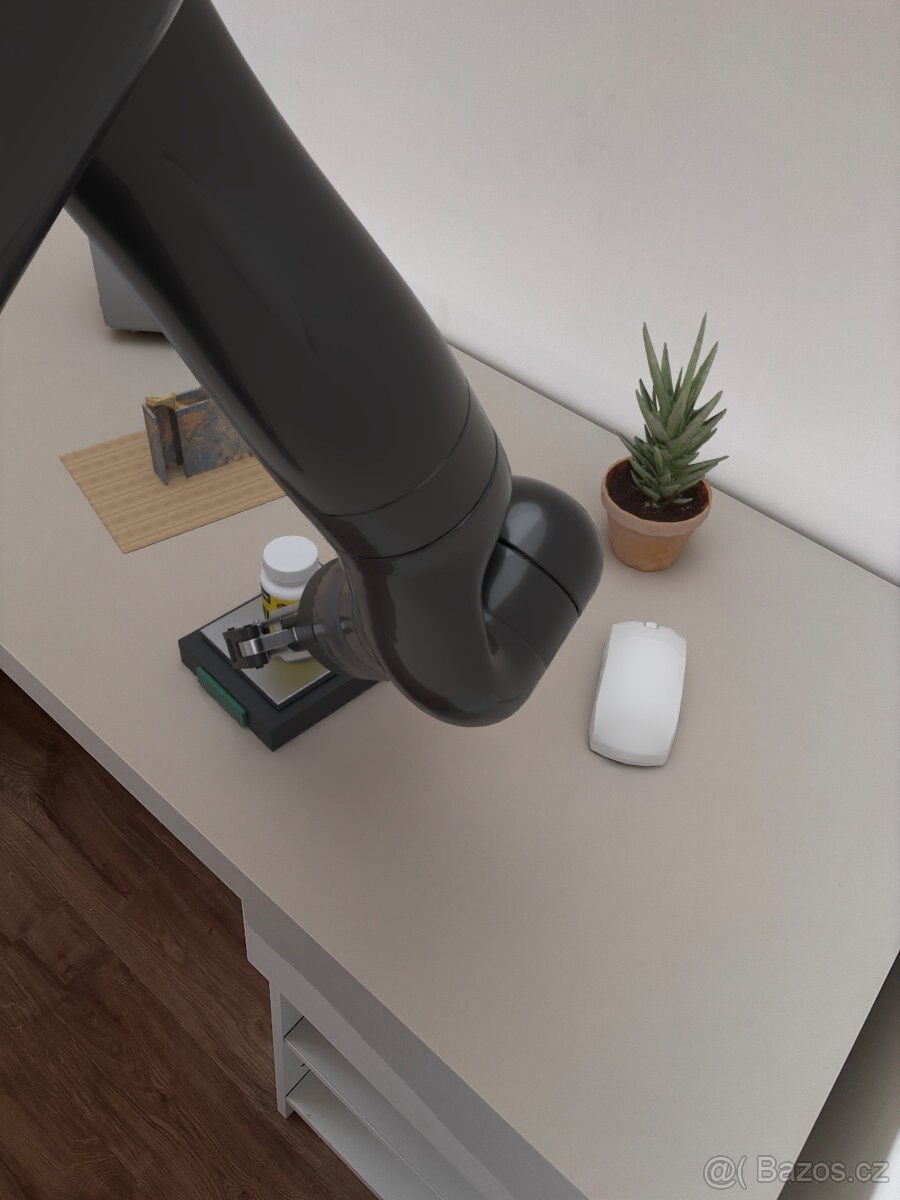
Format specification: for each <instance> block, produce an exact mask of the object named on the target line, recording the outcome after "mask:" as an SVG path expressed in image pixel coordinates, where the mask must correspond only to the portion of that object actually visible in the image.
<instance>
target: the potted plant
mask: <svg viewBox="0 0 900 1200" xmlns="http://www.w3.org/2000/svg"><path fill="white" fill-rule="evenodd" d="M707 314H708V312H707V311H705V312H704V314H703V317H702V320H701V323H700V327H699V329H698V333H697V337H696V340H695V343H694V346H693V350H692V353H691V355H690V359H689V361H688V364H687V367H686V371H685V374H684V377H683V380H682V376H683V366H681V367H680V370H679V373H678V377H677V381H676V384H675V387H674V385H673V378H672V371H671V364H670V358H669V350H668V347H667V346H668V344H667V342H666V341H664V343H663V349H662V355H661V363H660V364H661V365H659V362H658V361H659V360H658V358H657V355H656V352H655V349H654V346H653V343H652V340H651V337H650V334H649V331H648V326H647V323H646V322H645V320H643V324H642V337H643V344H644V349H645V354H646V359H647V365H648V369H649V373H650V378H651V381H652V393H651V395H652V397H651V395H650V394H649V392H648V390H647V388H646V386H645V384H644V381H643V379H642V378H639V379H638V385H639V390H640V392H639V391H638V389H637V388H636V389H635V391H634V392H635V397H636V400H637V404H638V407H639V410H640V413H641V415H642V417H643V419H644V421H645V423H643V427H644V428H643V429H644V436H645V441H644V440H643V439H641V438H640V437H638V436H637V435H634V436H633V440H634V441H635V444H633V443H632V442H630V441H629V440H628V439H627V438H626V436H624V435H623V433H621V432H620V431H619V430H616V431H615V433H616V434H617V436H618V438H619V440H620V441H621V442H622V444H623V445H624V447H625V448H626V449H627V451H628V452H630V456H626V457H623V458H621V459H618V460H617V461H615V462H613V464H611V465H610V466H609V467H607V469H606V471H605V473H604V475H603V477H602V482H601V487H600V498H601V499H600V500H601V504H602V507H603V508H604V510H605V512H606V516H607V522H608V528H609V536H610V542H611V548H612V552H613V554H614V555H615V557H616V558H617V559H618V560H619V561H621V563H623V564H624V565H625V566H628V567H630V568H633V569H635V570H638V571H642V572H648V573H649V572H650V573H651V572H658V571H659V572H660V571H663V570H665V569H668V567H669V566H671V565H672V564H673V562H674V561H675V560H676V558H677V557H678V555H679V554H680V552H681V550H682V549H683V547H684V546H685V545H686V543H687V542H688V541H689V539H690V538H691V536H692V535H693V533H694V532H695V530H697V529H698V528H700V527H701V526H702V525H703V523H704V522H705V521H706V520H707V519H708V517H709V514H710V511H711V507H712V502H713V495H714V494H713V490H712V487H711V485H710V482H709V481H708V480H707V479H706V478H705V477H706V475H707V473H709V472H710V471H711V470H712V469H714V468H715V467H717V466H718V465H719V463H720V462H722V461H725V460H727V459H729V457H730V455H724V456H721V457H716V458H713V459H708V460H703V461H699V462H696V463H692V462H694V460H696V458H698V456H699V455H700V451H699V450H700V448H702V447H703V446H704V445H705V444H706V443H707V442H708V441H710V439H711V438H712V437H713V436H714V435H715V434H716V433H717V431H718V428H717V427H716V426H717V425H718V423H719V422H720V420H722V419H723V418H724V416H725V415H726V413H727V411H728V409H727V407H726V408H724V409H722V410H721V411H720V412H718V413H716V414H715V415H712V416H711V417H709V416H710V414H711V413H712V411H713V410H714V409H715V408H716V406H717V404H718V403H719V401H720V399H721V397H722V395H723V394H724V390H723V389H721V390H720V391H718V392H717V393H716V394H715V395H714V396H713V397H712V398H711V399H710V400H709V401H707V403H704V405H702V406H700V407H699V408H698V409H694V407H695V405H696V403H697V401H698V398H699V396H700V393H702V389H703V387H704V385H705V383H706V380H707V378H708V375H709V373H710V370H711V368H712V365H713V363H714V361H715V358H716V355H717V352H718V347H719V341H718V340H716V342H715V344H714V345H713V346H712V348H711V349H710V351H709V353H708V355H707V356H706V358H705V359H704V360H703V362H702V364H701V365H700V367H699V368H698V371H697V373H696V374H695V372H696V368H697V365H698V361H699V357H700V354H701V350H702V346H703V342H704V336H705V332H706V325H707ZM657 403H658V404H657ZM658 407H659V409H658ZM708 417H709V418H708ZM707 418H708V419H707Z"/></svg>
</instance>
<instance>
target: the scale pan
mask: <svg viewBox="0 0 900 1200" xmlns="http://www.w3.org/2000/svg"><path fill="white" fill-rule="evenodd" d="M259 619H260V621H263V620H264V613H263V604H262V596H260V597H258V598H256V599H255V600H253V601H251V602H249V603H247V604H246V605H244V606H242V607H240V608H239V609H237V610H235V611H233V612H231V613H230V614H228V615H226V616H224V617H223V618H221V619H219V620H217V621H215V622H214V623H212V624H210V625H208V626H206V627H205V628H203V629H201V630H200V633H201V637H202V638H203V639H204V640H205V641H206V642H207V643H208V644H209V645H210V646H211V647H212V648H213V649H215V650H216V651H217V652H218V653H219V654H220V655H221V656H222V657H223V658H224V659H225V660H226V661H227V662H228V663H229V664H230V665H231V666H232V664H231V662H232V661H231V658H230V655H229V651H228V648H227V645H226V641H225V640H224V637H223V634H222V633H223V632H226V631H227V629H229V628H232V627H235V629H237V628H241V627H243V626H245V625H248V624H253V622H252V621H255V620H259ZM226 640H227V639H226ZM271 659H272V661H270V662H269V663H268V664H265V665H264V667H263V668H260V669H256V667H255V668H251V669H240V670H239V669H235V670H236V671H237V672H239V673H240V674H241V675H242V676H243V677H244V678H245V679H246V680H247V681H248V682H249V683H250V684H251V685H252V686H253V687H254V688H255V689H256V690H257V691H258V692H259V693H260V694H261V695H263V696H264V697H265V698H266V699H267V700H268V701H269V702H270V703H271V704H272V705H273V706H274V707H275V708H276V709H277V710H281V709H282V708H284V707H285V706H287V705H288V704H290V703H292V702H293V701H295V700H296V699H298V698H299V697H301V696H303V695H304V694H306V693H307V692H309V691H310V690H312V689H314V688H315V687H317V686H318V685H320V684H321V683H323V682H325V681H326V680H328V679H329V678H331V677H332V676H334V675H336V674H335V673H333V672H331V671H329V670H328V669H326V668H325V667H323V666H322V665H321V664H320V663H319V662H317V661H316V660H315V659H314V658H313V657H312V656H310V657H306V658H302V659H297V660H293V661H289V662H286V661H284V660H283V659H282V658H281V657H280V656H276V657H272V658H271Z"/></svg>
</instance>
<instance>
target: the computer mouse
mask: <svg viewBox="0 0 900 1200" xmlns="http://www.w3.org/2000/svg"><path fill="white" fill-rule="evenodd" d="M686 672H687V642H686V638H684V637H683V636H681V635H680V634H678V633H677V632H676V631H675V630H673V629H672V628H670V627H666V626H663V625H659V624H657V623H656V622H653V621H647V620H646V622H644V621H637V620H627V621H624V622H618V623H617V622H615V623H613V624H612V626H611V629H610V631H609V634H608V637H607V642H604V647H603V651H602V657H601V661H600V671H599V678H598V681H597V687H596V692H595V698H594V703H593V707H592V713H591V718H590V723H589V728H588V731H587V733H588V740H589V741H588V742H589V748H590V750H592V751H593V752H596V753H597V754H599V755H601V756H602V757H605V758H608V759H610V760H613V761H616V762H619V763H621V764H626V765H633V766H643V767H658V766H663V765H664V764H665V763H666V762H667V759H668V758H669V755H670V753H671V751H672V747H673V744H674V741H675V739H676V735H677V729H678V724H679V720H680V719H679V717H680V712H681V707H682V702H683V695H684V686H685V681H686V674H687V673H686Z"/></svg>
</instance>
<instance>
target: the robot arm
mask: <svg viewBox="0 0 900 1200" xmlns="http://www.w3.org/2000/svg"><path fill="white" fill-rule="evenodd" d="M63 209H64V210H65V212H66V213H67V214H68V216H70V218H71V219H72V220H73V221H74V223H75V224H76V225H77V226H78V227H79V229H81V231H82V232H83V233H84V234H85V235H86V237H87V239H88V238H89V239H90V240H91V241H92V242H93V244H94V245H95V246H96V247H97V248H98V249H99V251H100V252H101V253H102V255H103V256H104V257H105V258H106V260H107V261H108V262H109V263H110V265H111V266H112V267H113V269H114V270H115V271H116V272H117V274H118V275H119V276H120V277H121V279H122V280H123V281H124V282H125V284H126V285H127V286H128V288H129V289H130V290H131V291H132V293H133V294H134V295H135V297H136V298H137V299H138V301H139V302H140V303H141V305H142V306H143V307H144V309H145V310H146V311H147V313H148V314H149V315H150V317H151V318H152V319H153V321H154V322H155V324H156V325H157V326H158V328H159V329H160V330H161V332H160V333H162V334H163V336H164V337H165V338H166V339H167V341H168V343H170V345H171V346H172V347H173V349H174V350H175V352H176V353H177V354H178V356H179V357H180V359H181V360H182V361H183V363H184V364H185V366H186V367H187V368H188V369H189V371H190V372H191V374H192V375H193V377H194V378H195V379H196V381H197V383H198V384H199V385H200V387H201V386H202V387H203V389H204V390H205V392H206V393H207V394H208V396H209V397H210V398H211V400H212V401H213V402H214V404H215V405H216V407H217V408H218V409H219V411H220V412H221V413H222V415H223V416H224V417H225V419H226V420H227V421H228V423H229V424H230V425H231V427H232V428H233V429H234V431H235V432H236V433H237V435H238V436H239V437H240V439H241V440H242V441H243V442H244V444H245V445H246V446H247V448H248V449H249V450H250V451H251V453H252V454H253V455H254V456H255V458H256V459H257V460H258V461H259V463H260V464H261V465H262V466H263V468H264V469H265V470H266V471H267V472H268V474H269V475H270V476H271V477H272V479H273V480H274V481H275V482H276V483H277V484H278V486H279V487H280V488H281V489H282V490H283V492H284V493H285V494H286V495H285V496H287V498H288V499H289V500H290V501H291V502H292V503H293V504H294V506H295V507H296V508H297V509H298V510H299V511H300V512H301V513H302V514H303V516H304V517H305V518H306V519H307V520H308V521H309V523H310V524H311V525H312V526H313V527H314V528H315V530H316V531H317V532H318V533H319V534H320V535H321V536H322V538H323V539H324V540H325V541H326V542H327V543H328V544H329V546H330V547H331V548H332V549H333V550H334V552H335V554H336V556H337V557H336V558H333V559H330V560H329V561H327V562H325V563H324V564H322V565H323V566H322V567H320V568H319V569H318V570H317V571H316V572H315V573H314V574H313V576H312V577H311V578H310V580H309V581H308V583H307V584H306V586H305V588H304V591H303V593H302V596H301V599H300V603H296V604H293V605H289V606H285V607H282V608H279V609H276V610H273V611H271V613H270V617H269V619H267V620H263V621H260V619H259V620H255V621H252V622H253V624H248V625H245V626H243V627H241V628H237V629H235V627H232V628H229V629H227V631H226V632H223V633H222V634H223V637H224V640H225V641H226V645H227V648H228V651H229V655H230V658H231V661H232V662H231V664H232V668H233V669H239V670H240V669H251V668H255V667H256V669H260V668H263V667H264V665H265V664H268V663H269V662H270V661H272V659H271V658H272V657H276V656H280V657H281V658H282V659H283V660H284V661H286V662H289V661H293V660H297V659H302V658H306V657H310V656H312V657H313V658H314V659H315V660H316V661H317V662H319V663H320V664H321V665H322V666H323V667H325V668H326V669H328V670H329V671H331V672H333V673H335V674H337V675H340V676H343V677H347V678H353V679H365V680H376V681H379V682H391V683H392V685H393V686H394V687H395V688H396V689H397V690H398V691H399V692H400V693H401V695H402V696H403V697H404V698H405V699H407V700H408V701H409V702H410V703H411V704H412V705H413V706H414V707H416V708H417V709H419V710H420V711H422V712H423V713H425V714H426V715H428V716H430V717H432V718H433V719H435V720H437V721H440V722H442V723H445V724H448V725H452V726H455V727H459V728H460V727H461V728H482V727H484V728H485V727H488V726H492V725H495V724H498V723H501V722H503V721H505V720H507V719H508V718H510V717H512V716H513V715H514V714H515V713H517V712H518V711H519V710H520V709H521V708H522V707H523V706H524V704H525V703H526V702H528V700H529V699H530V697H531V696H532V694H533V693H534V691H535V690H536V688H537V686H538V685H539V683H540V681H542V678H543V677H544V675H545V674H546V672H547V670H548V669H549V667H550V666H551V664H552V662H553V661H554V659H555V657H556V656H557V654H558V653H559V651H560V650H561V648H562V646H563V645H564V643H565V642H566V640H567V638H568V637H569V635H570V633H571V632H572V630H573V628H574V627H575V625H576V623H577V622H578V621H579V619H580V618H581V617H582V615H583V613H584V612H585V610H586V609H587V608H588V606H589V604H590V603H591V601H592V599H593V597H594V596H595V593H596V591H597V589H598V587H599V585H600V583H601V579H602V576H603V572H604V562H605V561H604V560H605V558H604V557H605V556H604V555H605V553H604V547H603V543H602V538H601V535H600V532H599V530H598V527H597V525H596V524H595V522H594V520H593V519H592V517H591V515H590V514H589V513H588V511H587V510H586V509H585V507H584V506H582V505H581V503H580V502H578V501H577V500H576V499H575V498H574V497H572V496H571V495H570V494H568V493H567V492H566V491H564V490H562V489H561V488H560V487H557V486H556V485H553V484H550V483H548V482H545V481H543V480H541V479H540V480H539V479H537V478H534V477H529V476H525V475H519V474H518V475H516V474H515V475H514V474H512V468H511V465H510V461H509V458H508V456H507V453H506V450H505V448H504V446H503V444H502V441H501V440H500V437H499V435H498V434H497V431H496V429H495V427H494V426H493V424H492V422H491V421H490V419H489V418H488V416H487V413H486V412H485V410H484V408H483V407H482V405H481V402H480V400H479V399H478V397H477V395H476V392H475V391H474V389H473V388H472V385H471V384H470V382H469V380H468V379H467V377H466V374H465V373H464V371H463V370H462V367H461V365H460V363H459V361H458V360H457V358H456V356H455V355H454V353H453V351H452V349H451V347H450V346H449V344H448V343H447V341H446V339H445V338H444V335H442V333H441V331H440V329H439V328H438V326H437V325H436V323H435V322H434V320H433V318H432V317H431V316H430V314H429V313H428V311H427V310H426V308H425V307H424V305H423V303H422V302H421V301H420V299H419V298H418V297H417V295H416V293H414V291H413V289H411V287H410V286H409V284H408V283H407V282H406V280H405V279H404V278H403V276H402V274H400V272H399V271H398V269H397V268H396V267H395V266H394V264H393V263H392V262H391V260H390V259H389V258H388V256H387V255H386V254H385V252H384V251H383V249H382V248H381V247H380V246H379V244H378V243H377V241H376V240H375V239H374V237H373V236H372V234H371V233H370V232H369V231H368V230H367V228H366V227H365V226H364V225H363V223H362V222H361V220H360V219H359V217H357V215H356V214H355V212H354V211H353V209H352V208H351V207H350V206H349V204H348V203H347V202H346V201H345V199H344V198H343V197H342V196H341V194H340V193H339V192H338V190H337V188H335V186H334V185H333V184H332V182H331V181H330V180H329V178H328V177H327V176H326V174H325V173H324V172H323V171H322V169H321V168H320V166H319V165H318V164H317V162H316V161H315V160H314V159H313V157H312V156H311V154H310V153H309V152H308V150H307V149H306V147H305V146H304V144H303V143H302V142H301V140H300V139H299V138H298V136H297V134H295V132H294V131H293V129H292V128H291V127H290V125H289V124H288V122H287V121H286V119H285V118H284V116H283V115H282V114H281V112H280V111H279V109H278V108H277V107H276V105H275V103H274V101H273V100H272V98H271V97H270V95H269V94H268V92H267V90H266V89H265V88H264V86H263V84H262V83H261V81H260V80H259V78H258V77H257V75H256V73H255V72H254V70H253V69H252V67H251V66H250V64H249V63H248V61H247V60H246V58H245V56H244V54H243V53H242V51H241V49H240V48H239V46H238V44H237V43H236V41H235V40H234V38H233V36H232V35H231V32H230V31H229V28H228V27H227V26H226V24H225V22H224V21H223V18H222V17H221V15H220V13H219V12H218V10H217V8H216V6H215V4H214V2H213V0H0V315H1V314H2V313H3V310H4V309H5V307H6V306H7V303H8V302H9V300H10V299H11V297H12V295H13V293H14V292H15V290H16V288H17V286H18V285H19V283H20V282H21V279H22V278H23V276H24V275H25V273H26V272H27V269H28V268H29V266H30V265H31V263H32V261H33V259H34V257H35V256H36V255H37V253H38V251H39V249H40V247H41V246H42V244H43V242H44V241H45V239H46V237H47V236H48V234H49V232H50V231H51V229H52V227H53V225H54V224H55V222H56V220H57V219H58V217H59V215H60V214H61V212H62V210H63ZM295 612H298V613H297V614H295V615H293V614H294V613H295ZM269 627H272V628H273V629H274V632H273V633H271V632H270V628H269ZM226 639H227V640H226ZM277 647H278V648H277Z"/></svg>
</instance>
